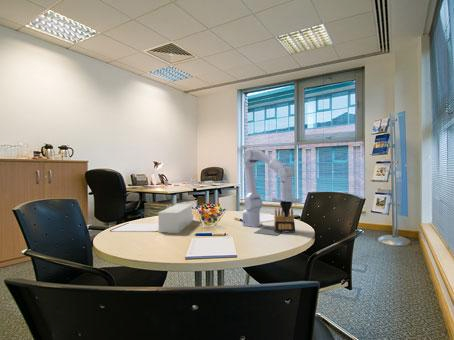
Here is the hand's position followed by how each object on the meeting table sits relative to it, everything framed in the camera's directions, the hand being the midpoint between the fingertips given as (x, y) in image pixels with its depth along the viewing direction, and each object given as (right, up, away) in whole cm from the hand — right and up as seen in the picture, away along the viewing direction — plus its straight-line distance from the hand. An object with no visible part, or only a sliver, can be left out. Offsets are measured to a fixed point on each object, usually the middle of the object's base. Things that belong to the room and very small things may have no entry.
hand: (286, 216), depth 133 cm
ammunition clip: (-1, -8, 0) cm, 8 cm away
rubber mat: (-7, -8, +4) cm, 12 cm away
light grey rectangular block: (-59, -9, +19) cm, 63 cm away
